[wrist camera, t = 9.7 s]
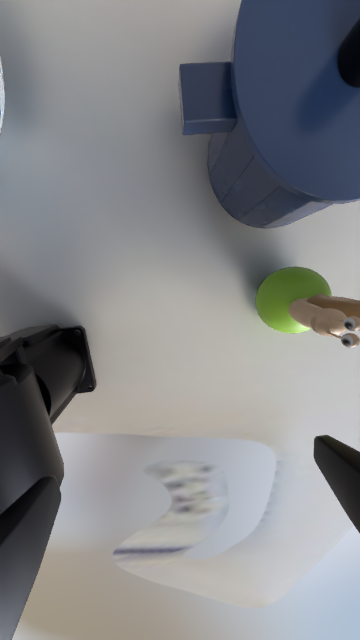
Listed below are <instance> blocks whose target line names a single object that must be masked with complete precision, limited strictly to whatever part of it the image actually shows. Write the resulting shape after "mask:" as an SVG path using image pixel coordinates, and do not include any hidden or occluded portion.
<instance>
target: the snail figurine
mask: <svg viewBox="0 0 360 640" xmlns="http://www.w3.org/2000/svg"><path fill="white" fill-rule="evenodd" d="M256 308H257V312H258V314H259V316H260V318H261V319H262V320H263V321H264V322H265V323H266V324H267V325H268V326H269V327H271V328H273V329H275V330H277V331H280V332H284V333H299V332H304V331H307V330H309V329H313V330H314V331H315V332H316V333H318V334H320V335H323V336H335V337H337V338H340V339H341V342H342V344H343V345H344V346H346V347H350V348H352V347H356V346H357V345H358V344H359V342H360V339H359V337H358V336H357V335H355V334H352V333H347V334H345V335H343V336H342V337H341V336H337V335H339V334H342V333H343V332H344V331H346V329H348V330H351V331H355V330H360V301H357V300H354V299H349V298H343V297H334V296H332V295H331V290H330V287H329V285H328V283H327V282H326V280H325V279H324V278H323V277H322V276H321V275H320V274H318V273H317V272H315V271H313V270H311V269H308V268H303V267H288V268H283V269H280V270H278V271H276V272H274V273H272V274H271V275H269V276H268V277H267V278H266V279H265V280H264V281H263V282H262V284H261V285H260V287H259V289H258V291H257V295H256Z"/></svg>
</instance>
